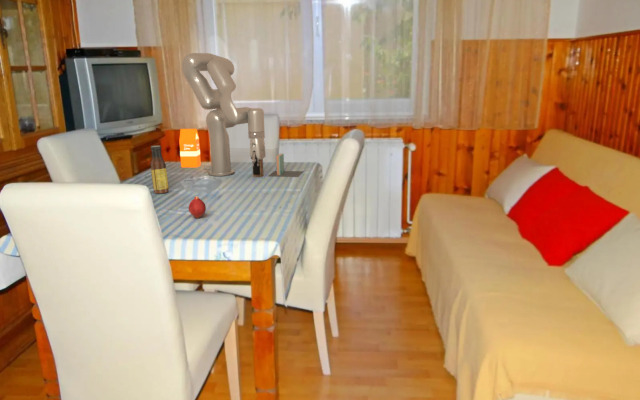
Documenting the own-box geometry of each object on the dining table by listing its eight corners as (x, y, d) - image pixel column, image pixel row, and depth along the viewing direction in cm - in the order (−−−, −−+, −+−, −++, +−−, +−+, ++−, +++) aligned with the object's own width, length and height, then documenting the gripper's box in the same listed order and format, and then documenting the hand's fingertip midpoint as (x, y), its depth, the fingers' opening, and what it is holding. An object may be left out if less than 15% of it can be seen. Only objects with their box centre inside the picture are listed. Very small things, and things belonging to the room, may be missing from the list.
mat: (267, 178, 247) (267, 176, 246) (274, 172, 260) (274, 170, 260) (298, 178, 244) (298, 177, 244) (304, 172, 258) (304, 171, 257)
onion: (190, 216, 184) (189, 194, 182) (207, 215, 185) (205, 193, 183) (188, 220, 179) (186, 198, 177) (205, 220, 179) (203, 197, 177)
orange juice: (197, 167, 276) (194, 129, 271) (181, 167, 276) (178, 129, 271) (201, 164, 283) (198, 128, 278) (185, 164, 283) (182, 128, 278)
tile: (277, 174, 250) (276, 156, 247) (280, 171, 257) (280, 153, 255) (280, 174, 249) (279, 156, 247) (284, 171, 257) (283, 153, 255)
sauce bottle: (171, 191, 222) (168, 145, 217) (163, 194, 216) (158, 147, 211) (159, 190, 224) (154, 144, 219) (149, 193, 219) (145, 146, 214)
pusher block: (253, 178, 246) (252, 157, 243) (255, 176, 250) (254, 156, 247) (261, 178, 245) (260, 157, 243) (263, 177, 249) (262, 156, 247)
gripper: (259, 137, 234) (260, 177, 238) (268, 132, 250) (270, 170, 254) (243, 137, 235) (245, 176, 239) (253, 132, 251) (255, 169, 255)
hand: (258, 173), depth 247 cm, fingers closed on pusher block, 4 cm apart
